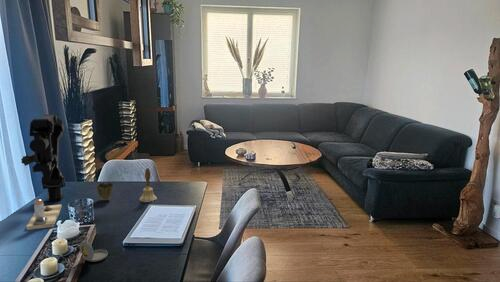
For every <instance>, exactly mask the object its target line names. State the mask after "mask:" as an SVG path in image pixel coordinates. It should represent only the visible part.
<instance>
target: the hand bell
mask: <svg viewBox="0 0 500 282" xmlns="http://www.w3.org/2000/svg"><path fill="white" fill-rule="evenodd" d="M144 179H145V182H146V183H145V187H144V188H143V190H142V195H141V196H140V197H139V198H138V199H139V201H140V202H141V203H151V201H152V202H155V201H157V198H158V197H157V196H156V195H155V194H154V190H153V187H151V186H150V185H151V184H150V183H151V182H150V179H151V171H150V168H149V167H147V168H146V169H145V172H144ZM154 200H155V201H154Z"/></svg>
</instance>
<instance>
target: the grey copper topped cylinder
mask: <svg viewBox="0 0 500 282" xmlns="http://www.w3.org/2000/svg"><path fill="white" fill-rule="evenodd" d="M44 206H45V204H44V201H43V200H42V199H40V198H37V199H35V200H34V202H33V207H34V209H33V210H34V213H35V218H36V219H35V221H34V225H40V224H46V222H47V220H48V219H47V217H46V218H45V213H44Z"/></svg>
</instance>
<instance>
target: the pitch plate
mask: <svg viewBox="0 0 500 282" xmlns="http://www.w3.org/2000/svg"><path fill="white" fill-rule="evenodd" d="M62 206H63V205H62V204H51V205H44V213H45V218H46V217H47V219H48V220H47V222H46V224H40V225H34V221H35V219H36V218H35V212H34V213H33V215H32V217H31V218H30V220H29V221H28V223H27V225H26V231H29V230H30V231H31V230H38V229H45V228H53V227H54V226H55V223H56V221H57V219H58V217H59V215H60V212H61V210H62Z"/></svg>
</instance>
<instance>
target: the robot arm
mask: <svg viewBox="0 0 500 282" xmlns="http://www.w3.org/2000/svg"><path fill="white" fill-rule="evenodd" d="M29 126H30V127H29V137H33V139H32V140H31V141H30V143H29V150H31V151H32V152H33V153H31V154H27V155H25V156H24V155H23V156H22V158H21V164H23V165H24V167H26V166H28V165H30V164H33V163H35V164H34V165H33V166H32V167H31V169H32V172H33V173H38V172H39V173H40V172H41V174H42V176H41V185H42V189H43V190H47V198H46V199H45V202H60V201H62V200H63V199H64V198H65V197H66V195H65V194H62V188H65V187H66V186H67V185H66V180H65V177H64V176H63V174H62V172H61V171H60V169H59V155H60V154H59V153H60V152H59V150H60V148H59V146H60V144H59V143H60V140H61V139H62V138H63V133H64V132H65V126H64V122H63V120H61V119H59V118H58V116H57V114H45V115H43V117H41V118H32V120H31V121H30V125H29Z"/></svg>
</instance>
